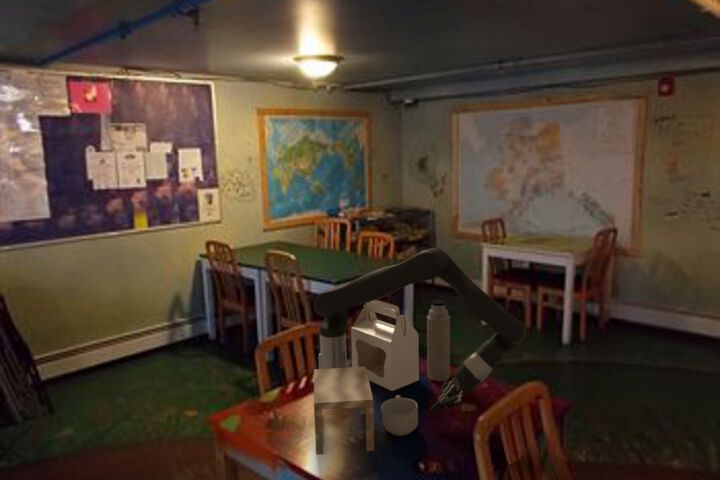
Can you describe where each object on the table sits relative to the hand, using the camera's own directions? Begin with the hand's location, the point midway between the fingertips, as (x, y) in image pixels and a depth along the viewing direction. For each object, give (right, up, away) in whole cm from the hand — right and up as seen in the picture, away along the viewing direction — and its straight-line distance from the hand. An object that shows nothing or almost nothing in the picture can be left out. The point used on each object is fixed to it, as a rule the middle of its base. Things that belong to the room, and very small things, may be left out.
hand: (432, 412), depth 166 cm
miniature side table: (-27, -5, -1) cm, 27 cm away
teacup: (-10, -5, 0) cm, 11 cm away
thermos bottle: (+7, +2, +35) cm, 36 cm away
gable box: (-13, +1, +37) cm, 39 cm away
